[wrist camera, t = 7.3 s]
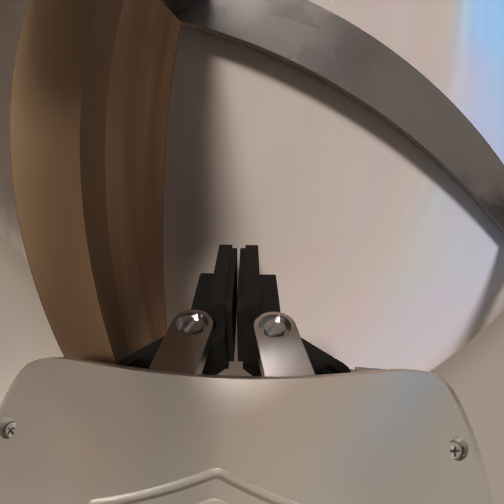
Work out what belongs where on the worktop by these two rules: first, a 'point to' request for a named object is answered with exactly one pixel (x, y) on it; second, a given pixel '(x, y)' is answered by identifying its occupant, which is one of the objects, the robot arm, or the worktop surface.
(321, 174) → the worktop surface
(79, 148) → the gate
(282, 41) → the gate frame
